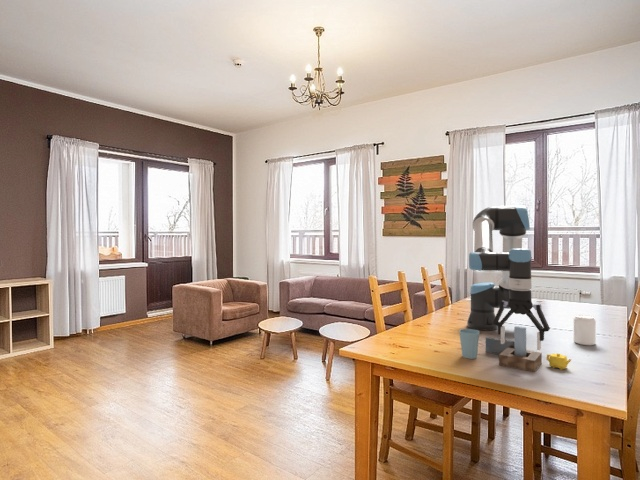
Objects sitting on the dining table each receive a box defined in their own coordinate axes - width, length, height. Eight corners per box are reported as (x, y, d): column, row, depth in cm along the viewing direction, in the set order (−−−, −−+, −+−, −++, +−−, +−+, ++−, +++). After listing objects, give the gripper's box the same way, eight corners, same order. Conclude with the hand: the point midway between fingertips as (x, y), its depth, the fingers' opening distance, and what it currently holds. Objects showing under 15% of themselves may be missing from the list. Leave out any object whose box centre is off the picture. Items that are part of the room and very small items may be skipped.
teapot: (574, 368, 144) (574, 354, 144) (569, 372, 140) (569, 357, 140) (549, 363, 150) (549, 349, 150) (545, 366, 146) (544, 353, 146)
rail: (485, 352, 164) (485, 337, 164) (486, 351, 165) (486, 337, 165) (522, 358, 155) (522, 343, 155) (523, 357, 156) (523, 342, 156)
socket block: (499, 365, 148) (499, 354, 148) (507, 357, 157) (507, 347, 157) (534, 371, 141) (534, 360, 141) (541, 363, 150) (541, 352, 150)
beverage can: (585, 346, 170) (585, 319, 170) (569, 341, 178) (569, 315, 178) (600, 345, 172) (600, 317, 172) (583, 340, 180) (583, 314, 180)
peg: (513, 364, 149) (513, 327, 148) (516, 361, 152) (515, 325, 152) (524, 366, 146) (524, 329, 146) (527, 363, 149) (527, 327, 149)
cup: (456, 353, 163) (456, 328, 163) (475, 353, 162) (475, 328, 162) (462, 359, 155) (462, 333, 155) (482, 359, 155) (482, 333, 154)
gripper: (484, 287, 153) (484, 343, 154) (555, 293, 138) (555, 354, 138) (489, 285, 159) (490, 338, 160) (558, 290, 144) (558, 349, 144)
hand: (520, 346), depth 149 cm, fingers open, 12 cm apart
